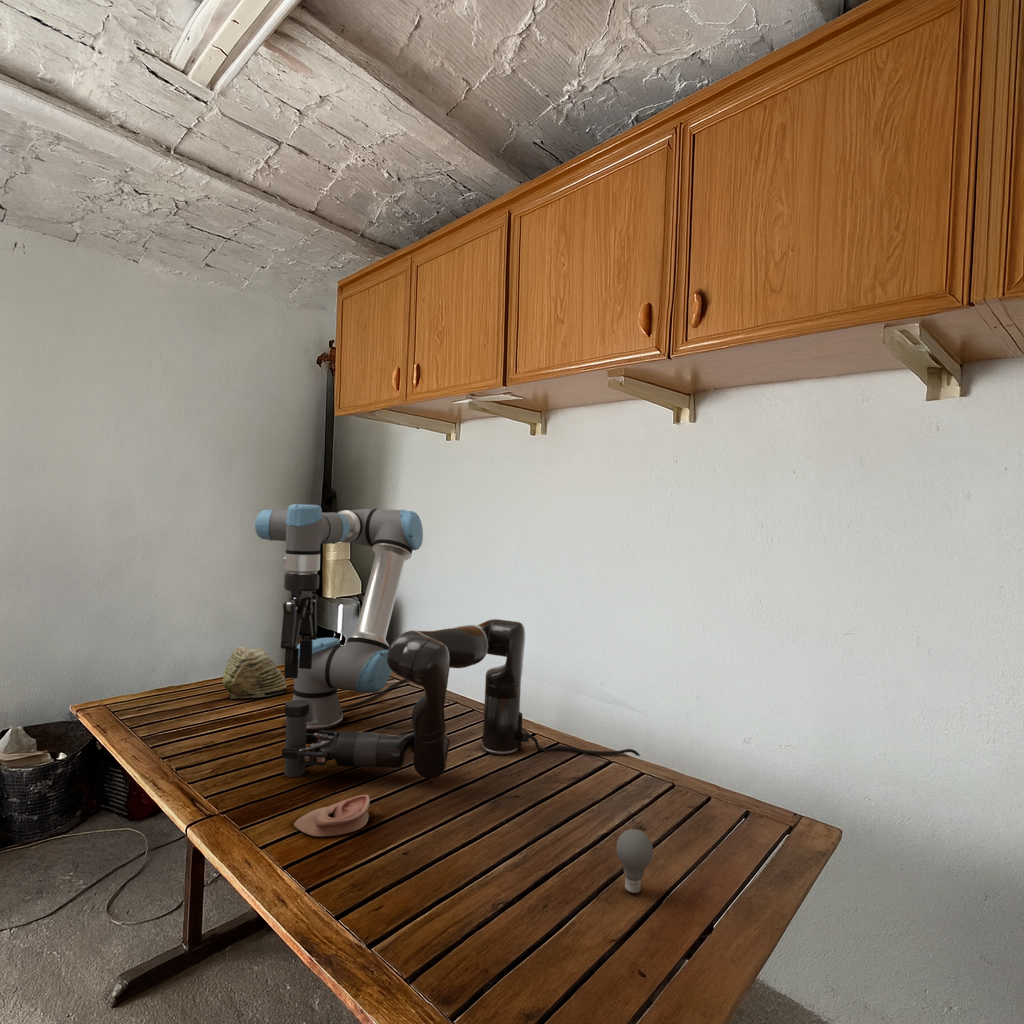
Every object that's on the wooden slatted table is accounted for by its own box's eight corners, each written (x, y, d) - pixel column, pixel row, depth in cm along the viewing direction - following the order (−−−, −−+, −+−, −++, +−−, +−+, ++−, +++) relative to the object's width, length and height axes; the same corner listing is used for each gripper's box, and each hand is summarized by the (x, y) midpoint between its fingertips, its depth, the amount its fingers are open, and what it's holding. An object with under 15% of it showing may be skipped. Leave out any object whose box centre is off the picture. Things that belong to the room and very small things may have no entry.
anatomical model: (285, 811, 119) (316, 784, 130) (285, 832, 119) (316, 803, 130) (351, 821, 116) (377, 793, 127) (350, 842, 116) (376, 813, 128)
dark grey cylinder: (281, 776, 142) (283, 708, 142) (288, 768, 147) (291, 701, 146) (300, 777, 142) (303, 709, 142) (307, 769, 147) (310, 702, 146)
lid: (281, 716, 142) (281, 706, 142) (289, 708, 147) (290, 699, 147) (304, 717, 142) (304, 707, 142) (312, 709, 147) (312, 700, 147)
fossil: (218, 695, 195) (220, 647, 195) (278, 685, 208) (279, 640, 207) (228, 703, 189) (230, 653, 188) (289, 692, 201) (290, 645, 201)
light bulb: (610, 879, 108) (613, 822, 108) (644, 879, 109) (647, 822, 109) (619, 902, 102) (622, 840, 102) (655, 901, 103) (658, 840, 103)
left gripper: (303, 566, 154) (300, 660, 154) (265, 576, 134) (261, 684, 134) (333, 568, 153) (330, 662, 154) (300, 578, 133) (296, 686, 134)
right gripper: (369, 722, 151) (301, 718, 151) (351, 745, 136) (277, 740, 137) (367, 753, 151) (300, 749, 151) (350, 779, 137) (276, 775, 137)
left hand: (298, 672), depth 144 cm, fingers open, 7 cm apart
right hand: (289, 745), depth 144 cm, fingers open, 8 cm apart
